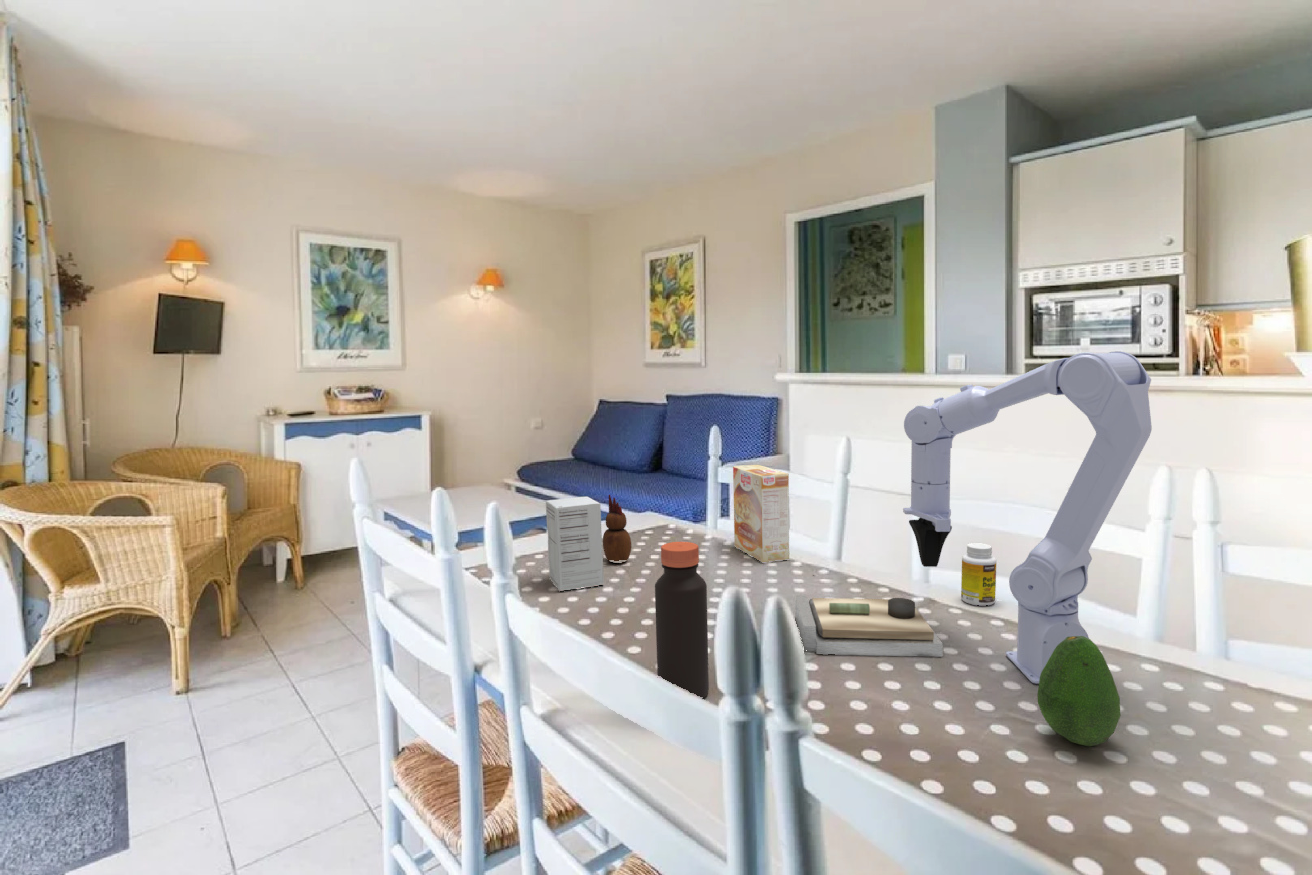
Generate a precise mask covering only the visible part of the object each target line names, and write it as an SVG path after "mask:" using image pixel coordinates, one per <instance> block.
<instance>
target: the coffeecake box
mask: <svg viewBox="0 0 1312 875" xmlns="http://www.w3.org/2000/svg"><path fill="white" fill-rule="evenodd" d="M732 474H733V475H732V477H733V480H732V481H733V483H732V484H733V532H734V534H733V535H734V537H733V538H734V545H735V546H736V547H737V548H740V549H741V550H742V551H744V552H746V553H748V554H749V555H751V556H753V557H754V558H756V559H757V560H760V561H761V562H769V561H775V560H785V559H789V560H790V499H789V498H790V495H789V493H790V492H789V491H790V490H789V487H790V486H789V483H790V482H789V481H790V480H789V479H790V478H789V472H788V473H787V472H783V471H781V470H778V469H775V468H771V467H767V466H764V465H760V464H749V465H748V464H746V465H742V464H741V465H734V466H733V467H732ZM737 548H736V549H737ZM742 551H741V552H742ZM744 552H743V553H744ZM749 555H748V556H749ZM754 558H753V559H754ZM756 559H755V560H756ZM757 560H756V561H757ZM761 562H760V563H761Z"/></svg>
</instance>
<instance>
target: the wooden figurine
mask: <svg viewBox="0 0 1312 875" xmlns="http://www.w3.org/2000/svg"><path fill="white" fill-rule="evenodd" d="M616 501H617V500H616V497H613V499H612V496H611V494H608V513H607V514H606V517H605V526H606V528H607V529H605V531H604V532H603V535H602V550H603V553H604V556H605V558H607V559H608V560H614V561H619V560H627V559H628V560H629V558H630V556H631V552H632V540H631V536H630V533H629V532H628V531H627V530H626V529H625V528H626V526H627V522H628V521H627V516H626V515H625V513H624V512H623V511H622V510H623V509H622V506H620V505H619V504H620V503H619V502H616ZM607 559H606V560H607ZM608 560H607V561H608ZM628 560H627V561H628Z"/></svg>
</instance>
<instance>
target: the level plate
mask: <svg viewBox="0 0 1312 875" xmlns="http://www.w3.org/2000/svg"><path fill="white" fill-rule="evenodd" d="M808 603H809V605H810V608H811V611H812V614H813V617H814V621H815V624H816V627H817V630H818V633H819V635H821V636H823V637H836V638H877V639H917V640H934V633H935V631H934V630H933V628H932V627H931V626H930V625H929V623H928V622H927V621H926V619H925V618H924V616H922V614H921V613H920V611H919V609H917V607H916V602H915V601H914V600H912V599H909V598H904V597H903V598H902V597H892V598H889V599H888V598H887V599H885V598H843V597H842V598H841V597H840V598H836V597H834V598H833V597H832V598H831V597H829V598H828V597H826V598H825V597H812V598H810V599H809V600H808ZM924 619H925V620H924ZM927 623H928V624H927ZM930 627H931V628H930ZM933 631H934V632H933Z"/></svg>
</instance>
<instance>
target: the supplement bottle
mask: <svg viewBox="0 0 1312 875" xmlns="http://www.w3.org/2000/svg"><path fill="white" fill-rule="evenodd" d="M992 548H993V547H992V546H991V545H990V544H987V543H981V542H970V543H968V544H967V545H966V553H965V554H963V555H962V558H961V583H960V585H961V586H960V587H961V588H960V589H961V590H960V597H961V600H962V601H963V602H964V603H967V604H969V605H973V606H977V605H979V606H978V607H980V606H982V607H986V605H988V606H991V605H993V604H995V602H996V590H997V589H996V588H997V584H996V583H997V559H996V557H995V556H993V555H992V554H993V549H992Z"/></svg>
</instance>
